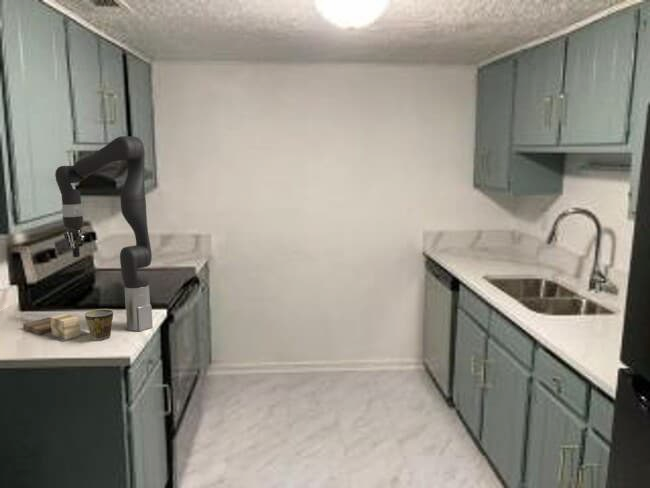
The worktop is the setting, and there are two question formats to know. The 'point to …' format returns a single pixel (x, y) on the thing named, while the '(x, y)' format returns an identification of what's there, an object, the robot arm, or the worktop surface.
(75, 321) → the block
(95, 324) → the ceramic cup
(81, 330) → the mat
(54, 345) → the worktop surface
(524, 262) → the worktop surface
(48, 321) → the brown flat slab
